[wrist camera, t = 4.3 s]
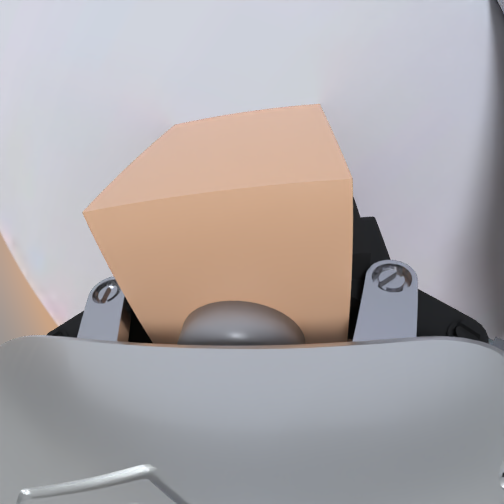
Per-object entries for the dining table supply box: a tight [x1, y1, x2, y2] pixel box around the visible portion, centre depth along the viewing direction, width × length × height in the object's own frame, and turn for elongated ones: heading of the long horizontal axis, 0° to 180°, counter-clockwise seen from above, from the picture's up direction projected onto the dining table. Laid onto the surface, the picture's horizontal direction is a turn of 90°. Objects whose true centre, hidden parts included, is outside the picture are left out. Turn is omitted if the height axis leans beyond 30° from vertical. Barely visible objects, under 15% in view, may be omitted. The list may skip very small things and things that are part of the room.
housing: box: [82, 104, 353, 346], centre depth 9 cm, size 5×8×7 cm, turn 10°
